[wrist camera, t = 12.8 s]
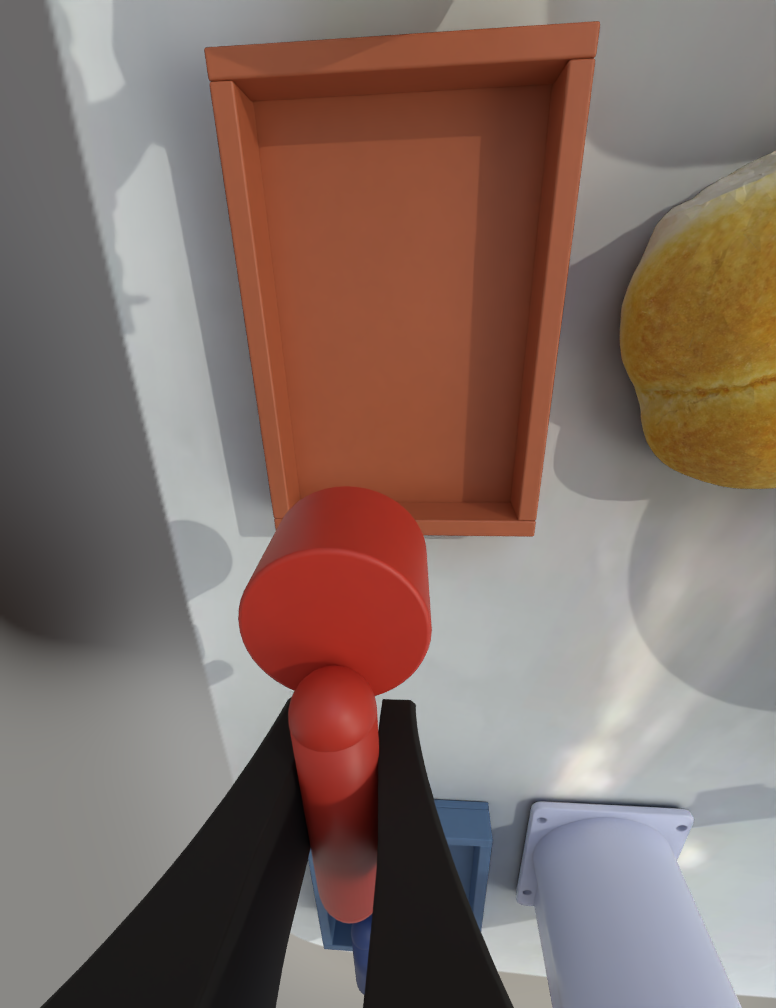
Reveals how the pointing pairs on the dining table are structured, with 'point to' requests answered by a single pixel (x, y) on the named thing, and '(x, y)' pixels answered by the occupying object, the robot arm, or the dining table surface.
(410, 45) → the orange-brown tray
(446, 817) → the blue tray
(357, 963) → the blue plastic mallet
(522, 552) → the dining table surface
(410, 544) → the red toy mallet
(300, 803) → the robot arm
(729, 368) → the bread roll
